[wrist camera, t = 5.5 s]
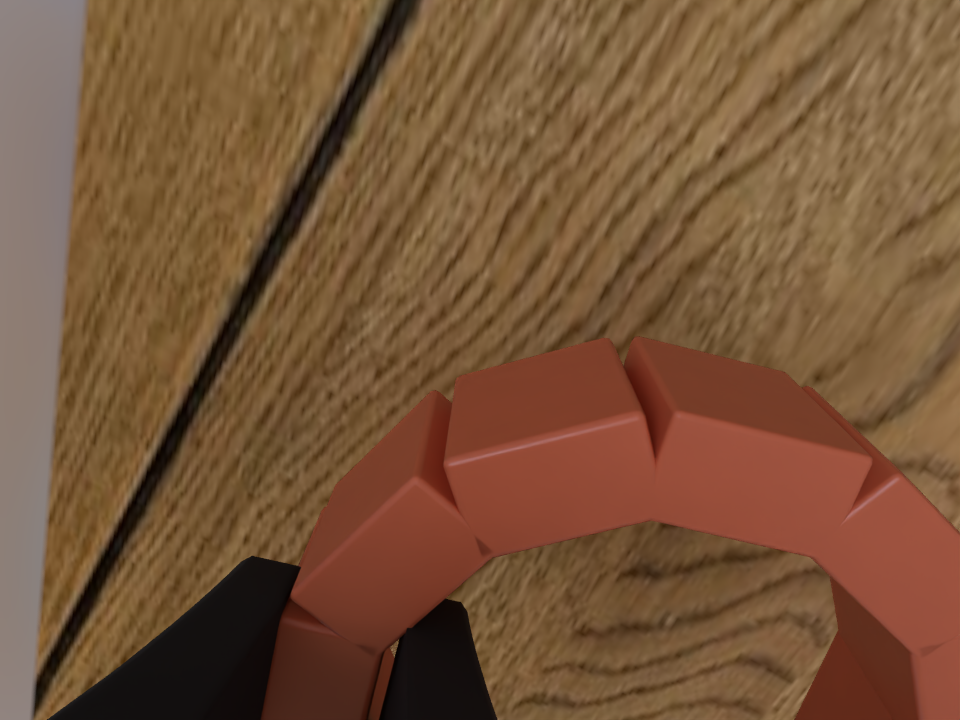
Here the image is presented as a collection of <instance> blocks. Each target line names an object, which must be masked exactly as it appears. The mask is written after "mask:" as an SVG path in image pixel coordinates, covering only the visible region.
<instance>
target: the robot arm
mask: <svg viewBox="0 0 960 720" xmlns="http://www.w3.org/2000/svg"><path fill="white" fill-rule="evenodd" d="M300 569H301V567H300V566H296V565H291V564H287V563H282V562H278V561H273V560H269V559H264V558H260V557H255V556H251V557H249V558H247V559H245V560H244V561H242V562H240V563H239V564H238V565H237V566H236V567H235V568H234V569H233V570H232V571H231V572H230V573H229V574H228V575H227V576H226V577H225V578H224V579H223V580H222V581H221V582H220V583H218V584H217V585H216V586H215V587H214V588H213V589H212V590H211V591H210V592H209V593H208V594H206V595H205V596H204V597H203V598H202V599H201V600H200V601H199V602H197V603H196V604H195V605H194V606H193V607H192V608H190V609H189V610H188V611H187V612H186V613H185V614H184V615H182V616H181V617H180V618H179V619H178V620H177V621H175V622H174V623H173V624H172V625H171V626H169V627H168V628H167V629H166V630H164V631H163V632H162V633H161V634H159V635H158V636H157V637H156V638H155V639H153V640H152V641H151V642H150V643H148V644H147V645H146V646H145V647H143V648H142V649H141V650H140V651H138V652H137V653H136V654H135V655H134V656H132V657H131V658H130V659H129V660H127V661H126V662H125V663H124V664H122V665H121V666H120V667H118V668H117V669H116V670H114V671H113V672H112V673H111V674H109V675H108V676H106V677H105V678H104V679H102V680H101V681H100V682H98V683H97V684H95V685H94V686H93V687H91V688H90V689H89V690H87V691H86V692H84V693H83V694H82V695H80V696H79V697H78V698H76V699H75V700H73V701H72V702H71V703H69V704H68V705H67V706H65V707H64V708H62V709H61V710H60V711H58V712H57V713H56V714H54V715H53V716H51V717H50V718H49V719H47V720H261V715H262V710H263V705H264V700H265V695H266V689H267V684H268V679H269V674H270V668H271V663H272V658H273V653H274V648H275V642H276V637H277V632H278V627H279V622H280V619H281V616H282V613H283V611H284V609H285V606H286V604H287V602H288V599H289V597H290V594H291V591H292V589H293V586H294V584H295V581H296V579H297V577H298V574H299V572H300ZM379 720H497V717H496V714H495V712H494V709H493V706H492V703H491V700H490V697H489V694H488V690H487V687H486V684H485V681H484V677H483V674H482V671H481V667H480V664H479V660H478V657H477V653H476V649H475V646H474V642H473V638H472V633H471V629H470V624H469V619H468V613H467V611H466V609H465V608H464V606H463V605H462V603H461V602H457V601H453V600H448V599H444V600H443V601H442V602H441V603H440V604H438V605H437V606H436V607H435V608H434V609H433V610H432V611H430V612H429V613H428V614H427V615H426V616H425V617H424V618H422V619H421V620H420V621H419V622H418V623H417V624H416V625H414V626H413V627H412V628H407V630H406V633H405V634H404V635H403V636H402V637H401V638H400V639H399V643H398V647H397V651H396V655H395V658H394V662H393V666H392V670H391V674H390V678H389V682H388V686H387V690H386V693H385V697H384V701H383V705H382V709H381V713H380V717H379Z"/></svg>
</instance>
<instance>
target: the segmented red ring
mask: <svg viewBox="0 0 960 720" xmlns="http://www.w3.org/2000/svg"><path fill="white" fill-rule="evenodd" d="M651 520H652V521H656V522H660V523H665V524H669V525H673V526H678V527H682V528H686V529H691V530H695V531H699V532H704V533H708V534H712V535H717V536H721V537H725V538H730V539H734V540H738V541H743V542H747V543H751V544H756V545H760V546H764V547H769V548H773V549H777V550H782V551H786V552H790V553H795V554H799V555H803V556H808V557H811V558H812V559H813V560H814V561H815V562H816V563H817V564H818V565H819V566H820V567H821V568H822V569H823V570H824V571H825V572H826V573H827V574H828V575H829V576H830V581H831V587H832V593H833V599H834V605H835V611H836V617H837V623H838V629H839V630H838V632H837V634H836V636H835V638H834V640H833V642H832V644H831V646H830V648H829V650H828V652H827V654H826V656H825V658H824V660H823V662H822V664H821V666H820V668H819V670H818V672H817V675H816V677H815V679H814V681H813V683H812V685H811V687H810V689H809V691H808V693H807V695H806V697H805V699H804V701H803V703H802V705H801V707H800V709H799V711H798V713H797V715H796V717H795V719H794V720H960V532H959V531H958V530H957V529H956V528H955V527H954V526H953V525H952V524H951V523H950V522H949V521H948V520H947V519H946V518H945V517H944V516H943V515H942V514H941V513H940V511H939V510H938V509H937V508H936V507H935V506H934V505H933V504H932V503H931V502H930V501H929V500H928V499H927V498H926V497H925V496H924V495H923V494H922V493H921V492H920V491H919V490H918V489H917V488H916V487H915V485H914V484H913V483H912V482H911V481H910V480H909V479H908V478H907V477H906V476H905V475H904V474H903V473H902V472H901V471H900V470H899V469H898V468H897V467H896V466H895V465H893V464H892V463H891V462H890V461H889V460H888V459H887V458H886V457H885V456H884V455H883V454H882V453H881V452H880V451H879V450H878V449H877V448H875V447H874V446H873V445H872V444H871V443H870V442H869V441H868V440H867V439H866V438H865V437H864V436H863V435H862V434H861V433H860V432H858V431H857V430H856V429H855V428H854V427H853V426H852V425H851V424H850V423H849V422H848V421H847V420H846V419H845V418H844V417H843V416H842V415H840V414H839V413H838V412H837V411H836V410H835V409H834V408H833V407H832V406H831V405H830V404H829V403H828V402H827V401H826V400H825V399H824V398H822V397H821V396H820V395H819V394H818V393H817V392H816V391H815V390H814V389H813V388H812V387H809V386H805V387H803V388H801V387H800V386H799V385H798V384H797V383H796V382H795V381H794V380H793V379H792V378H791V377H790V376H789V375H787V374H786V373H785V372H782V371H778V370H774V369H770V368H766V367H762V366H758V365H754V364H750V363H746V362H741V361H737V360H733V359H729V358H725V357H721V356H717V355H713V354H709V353H705V352H701V351H697V350H693V349H688V348H684V347H680V346H676V345H672V344H668V343H664V342H660V341H656V340H652V339H648V338H644V337H634V339H633V340H632V342H631V345H630V348H629V351H628V354H627V357H626V360H625V363H624V366H623V365H622V362H621V360H620V358H619V356H618V354H617V351H616V349H615V347H614V345H613V343H612V341H611V340H610V339H609V338H601V339H597V340H593V341H590V342H586V343H582V344H578V345H575V346H571V347H567V348H563V349H559V350H556V351H552V352H548V353H544V354H540V355H537V356H533V357H529V358H525V359H522V360H518V361H514V362H510V363H506V364H503V365H499V366H495V367H491V368H488V369H484V370H480V371H476V372H472V373H469V374H465V375H461V376H459V377H458V378H457V379H456V382H455V388H454V395H453V402H452V403H451V402H450V401H449V400H448V399H446V398H445V397H444V396H443V395H442V394H441V393H440V392H438V391H436V390H434V391H431V392H430V393H429V394H428V395H427V396H426V397H425V398H424V399H423V400H422V401H421V402H420V403H418V404H417V405H416V406H415V407H414V408H413V409H412V410H411V411H410V412H409V413H408V414H407V415H406V416H405V417H404V418H403V419H402V420H401V421H400V422H399V423H398V424H397V425H396V426H395V427H394V428H393V429H392V430H391V431H390V432H389V433H388V434H387V435H386V436H385V437H384V438H383V439H382V440H381V441H380V442H379V443H378V444H377V445H376V446H375V447H374V448H373V449H372V450H371V451H370V452H369V453H368V454H367V455H366V456H365V457H364V458H363V459H362V460H361V461H360V462H359V463H357V464H356V465H355V466H354V467H353V468H352V469H351V470H350V471H349V472H348V473H347V474H346V475H345V476H344V477H343V478H342V479H341V480H340V481H339V482H338V483H337V484H336V485H335V487H334V490H333V492H332V495H331V497H330V500H329V502H328V504H327V507H324V509H323V510H322V511H321V513H320V516H319V518H318V520H317V523H316V525H315V528H314V530H313V532H312V535H311V537H310V539H309V542H308V544H307V546H306V549H305V551H304V554H303V556H302V558H301V561H300V563H299V565H298V566H300V567H301V569H300V572H299V574H298V577H297V579H296V581H295V584H294V586H293V589H292V591H291V594H290V597H289V599H288V602H287V604H286V606H285V609H284V611H283V613H282V616H281V619H280V622H279V627H278V632H277V637H276V642H275V648H274V653H273V658H272V663H271V668H270V674H269V679H268V684H267V689H266V695H265V700H264V705H263V710H262V715H261V720H379V717H380V713H381V709H382V705H383V701H384V697H385V693H386V690H387V686H388V682H389V678H390V674H391V670H392V666H393V662H394V656H393V654H392V651H391V649H390V646H392V645H393V644H394V643H395V642H396V641H397V640H398V639H400V638H401V637H402V636H403V635H404V634H405V633H406V630H407V628H412V627H413V626H414V625H416V624H417V623H418V622H419V621H420V620H421V619H422V618H424V617H425V616H426V615H427V614H428V613H429V612H430V611H432V610H433V609H434V608H435V607H436V606H437V605H438V604H440V603H441V602H442V601H443V600H444V599H445V598H446V597H447V596H449V595H450V594H451V593H452V592H453V591H454V590H455V589H457V588H458V587H459V586H460V585H461V584H462V583H463V582H465V581H466V580H467V579H468V578H469V577H470V576H471V575H473V574H474V573H475V572H476V571H477V570H478V569H479V568H481V567H482V566H483V565H484V564H485V563H486V562H487V561H489V560H490V559H491V558H494V557H498V556H502V555H506V554H511V553H515V552H519V551H523V550H528V549H532V548H536V547H540V546H545V545H549V544H553V543H557V542H562V541H566V540H570V539H574V538H579V537H583V536H587V535H591V534H596V533H600V532H604V531H608V530H613V529H617V528H621V527H626V526H630V525H634V524H638V523H643V522H647V521H651Z"/></svg>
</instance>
